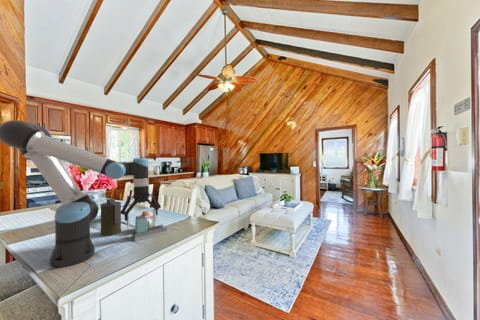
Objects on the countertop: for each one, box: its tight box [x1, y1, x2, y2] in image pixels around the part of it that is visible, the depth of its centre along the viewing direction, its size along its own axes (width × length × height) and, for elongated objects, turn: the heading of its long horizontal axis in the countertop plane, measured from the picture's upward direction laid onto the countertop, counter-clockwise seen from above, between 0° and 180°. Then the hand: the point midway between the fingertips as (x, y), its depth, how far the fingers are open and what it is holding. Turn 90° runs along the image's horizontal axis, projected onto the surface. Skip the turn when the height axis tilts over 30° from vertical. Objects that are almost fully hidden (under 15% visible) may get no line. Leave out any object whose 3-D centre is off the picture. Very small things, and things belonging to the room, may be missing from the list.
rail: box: [131, 224, 168, 242], centre depth 113 cm, size 17×7×3 cm, turn 130°
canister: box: [99, 198, 122, 237], centre depth 116 cm, size 11×10×20 cm
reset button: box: [141, 210, 150, 216], centre depth 122 cm, size 4×4×4 cm
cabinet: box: [135, 212, 156, 228], centre depth 122 cm, size 9×9×9 cm
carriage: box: [134, 216, 147, 234], centre depth 110 cm, size 5×5×10 cm
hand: (142, 223), depth 110 cm, fingers open, 13 cm apart
